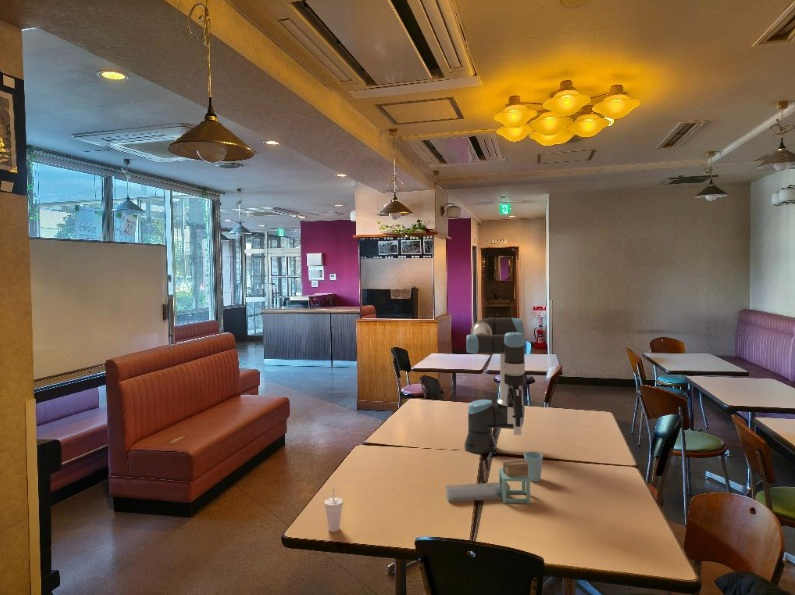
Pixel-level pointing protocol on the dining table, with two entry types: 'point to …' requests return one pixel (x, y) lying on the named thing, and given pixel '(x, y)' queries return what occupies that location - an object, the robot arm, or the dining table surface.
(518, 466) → the walnut block
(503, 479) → the bridge
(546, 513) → the dining table surface
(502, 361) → the robot arm
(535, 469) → the cup
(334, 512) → the smoothie
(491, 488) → the grey bar
